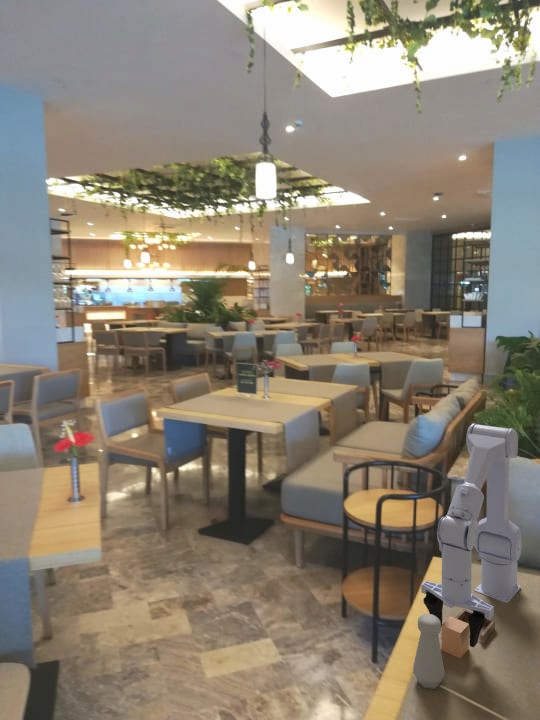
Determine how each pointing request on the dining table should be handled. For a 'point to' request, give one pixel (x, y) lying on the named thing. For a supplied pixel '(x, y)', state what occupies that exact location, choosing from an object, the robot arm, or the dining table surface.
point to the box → (486, 629)
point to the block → (455, 637)
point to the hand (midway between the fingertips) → (455, 636)
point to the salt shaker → (429, 653)
